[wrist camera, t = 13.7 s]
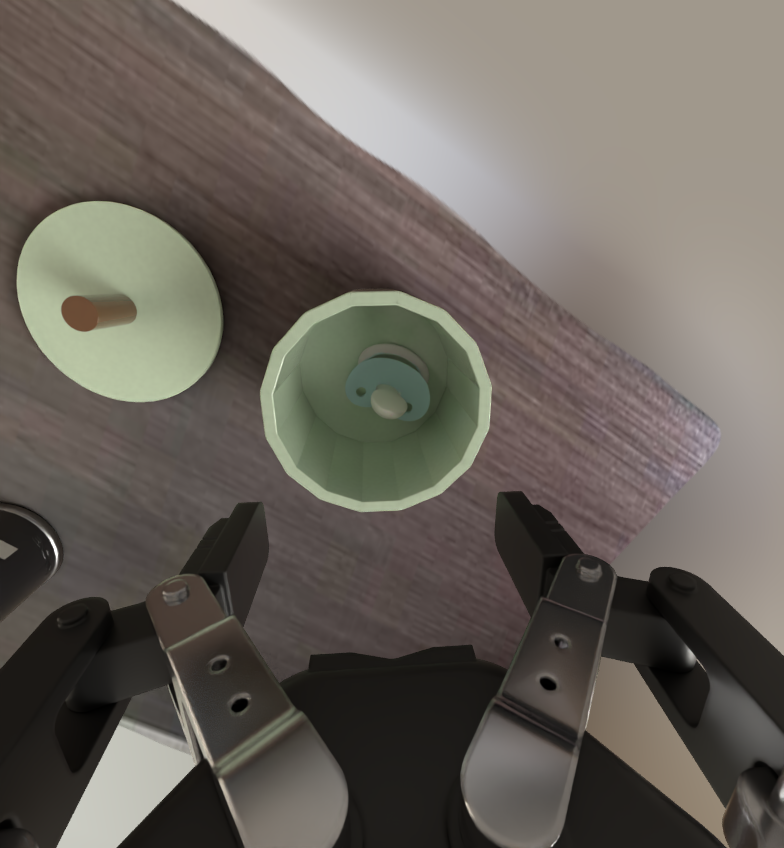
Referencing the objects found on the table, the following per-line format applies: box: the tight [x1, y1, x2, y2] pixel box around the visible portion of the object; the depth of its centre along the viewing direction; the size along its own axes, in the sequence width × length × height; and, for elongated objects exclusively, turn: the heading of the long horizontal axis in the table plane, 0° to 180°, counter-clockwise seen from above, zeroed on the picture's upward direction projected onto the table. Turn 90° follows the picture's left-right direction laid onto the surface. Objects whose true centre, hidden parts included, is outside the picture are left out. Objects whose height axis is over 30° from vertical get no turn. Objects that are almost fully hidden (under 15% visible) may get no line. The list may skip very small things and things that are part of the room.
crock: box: [260, 288, 492, 512], centre depth 31 cm, size 14×14×12 cm
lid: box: [17, 201, 223, 402], centre depth 31 cm, size 15×15×6 cm
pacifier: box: [345, 343, 430, 421], centre depth 33 cm, size 7×6×6 cm
